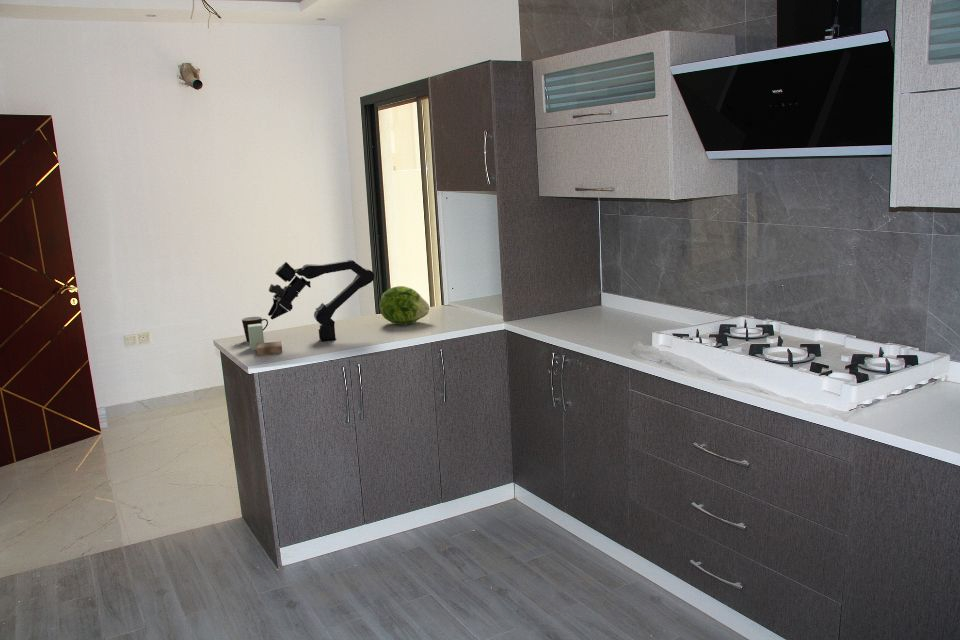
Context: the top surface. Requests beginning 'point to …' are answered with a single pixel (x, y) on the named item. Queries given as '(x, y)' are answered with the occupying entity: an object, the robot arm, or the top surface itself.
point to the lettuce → (403, 305)
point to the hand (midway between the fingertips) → (269, 317)
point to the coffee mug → (250, 321)
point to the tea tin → (255, 335)
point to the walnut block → (269, 348)
